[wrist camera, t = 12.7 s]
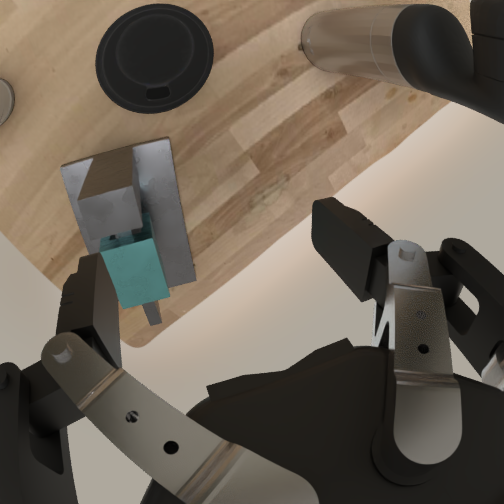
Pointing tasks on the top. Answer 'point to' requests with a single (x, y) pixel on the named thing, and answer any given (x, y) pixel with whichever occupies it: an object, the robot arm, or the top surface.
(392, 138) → the top surface
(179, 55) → the coffee cup
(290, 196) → the top surface
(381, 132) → the top surface
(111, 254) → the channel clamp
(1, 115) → the travel mug
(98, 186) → the stand
